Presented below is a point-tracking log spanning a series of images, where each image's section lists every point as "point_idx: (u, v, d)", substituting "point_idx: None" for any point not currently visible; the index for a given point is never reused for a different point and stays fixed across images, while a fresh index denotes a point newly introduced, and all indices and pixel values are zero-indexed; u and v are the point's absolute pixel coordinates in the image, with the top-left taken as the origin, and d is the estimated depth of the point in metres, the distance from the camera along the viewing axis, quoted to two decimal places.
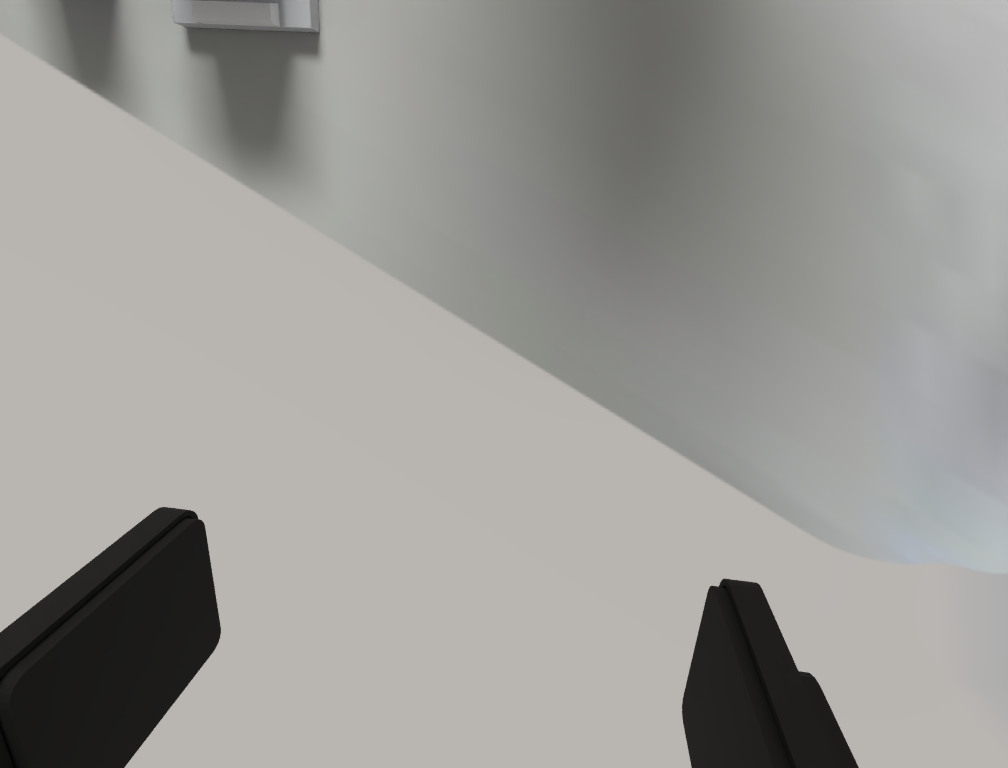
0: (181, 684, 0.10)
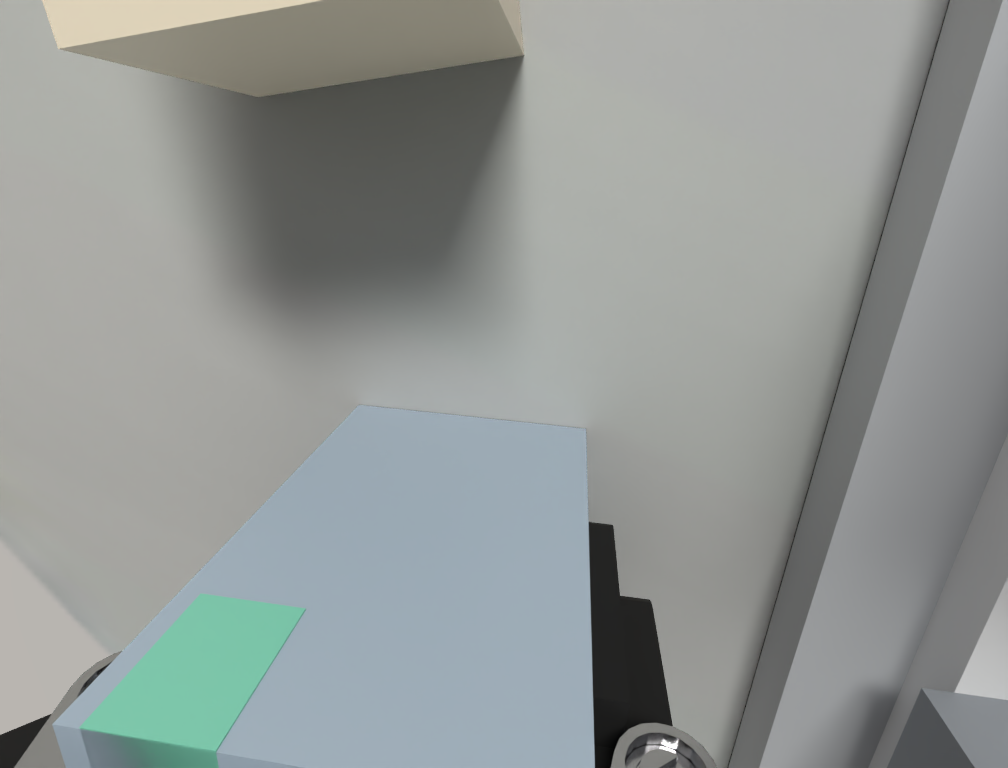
0: None
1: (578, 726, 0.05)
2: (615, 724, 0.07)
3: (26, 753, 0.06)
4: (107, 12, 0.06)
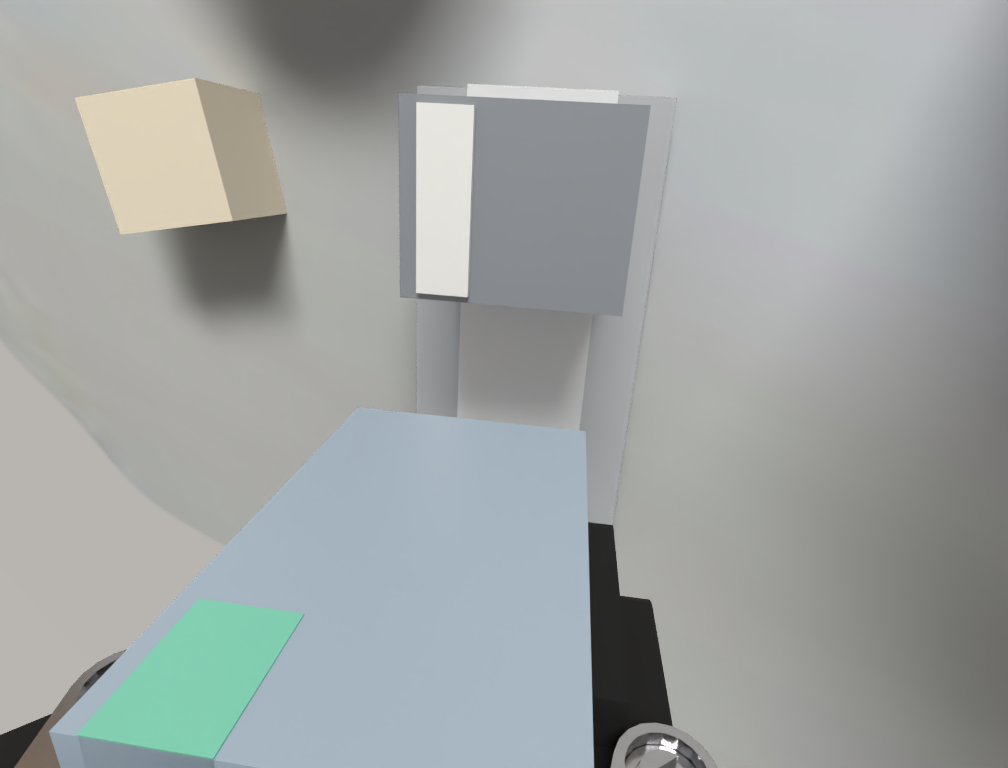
0: None
1: (577, 733, 0.05)
2: (615, 724, 0.07)
3: (26, 753, 0.06)
4: (134, 226, 0.20)
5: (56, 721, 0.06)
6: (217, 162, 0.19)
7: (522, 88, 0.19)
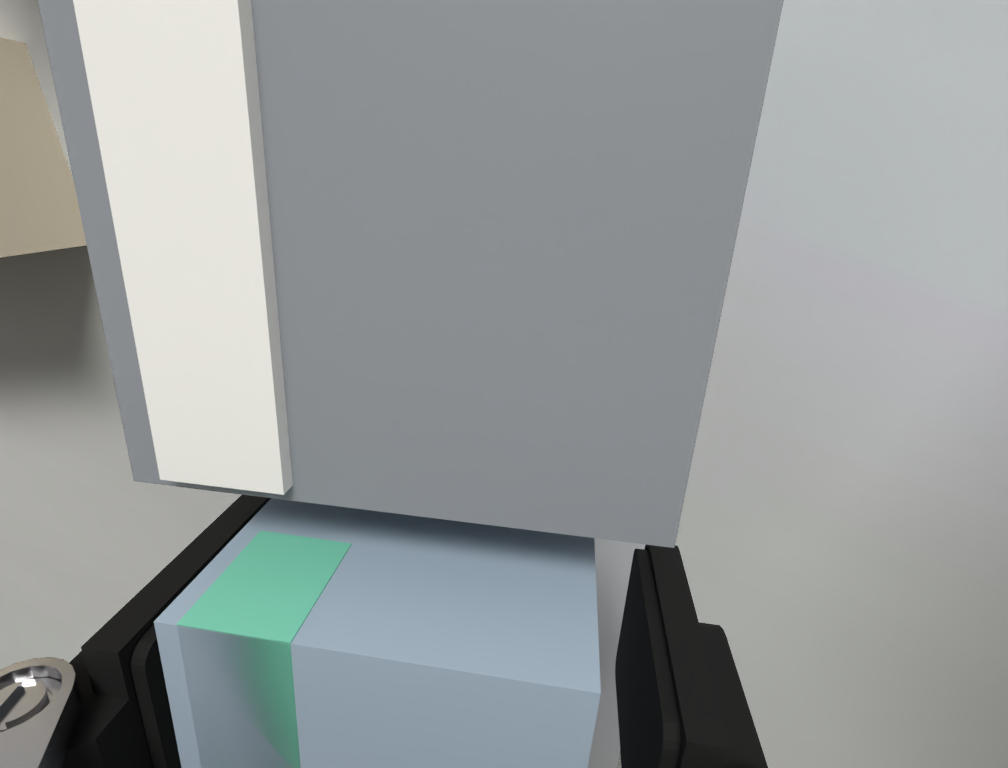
0: None
1: (585, 632, 0.06)
2: None
3: None
4: None
5: None
6: None
7: None
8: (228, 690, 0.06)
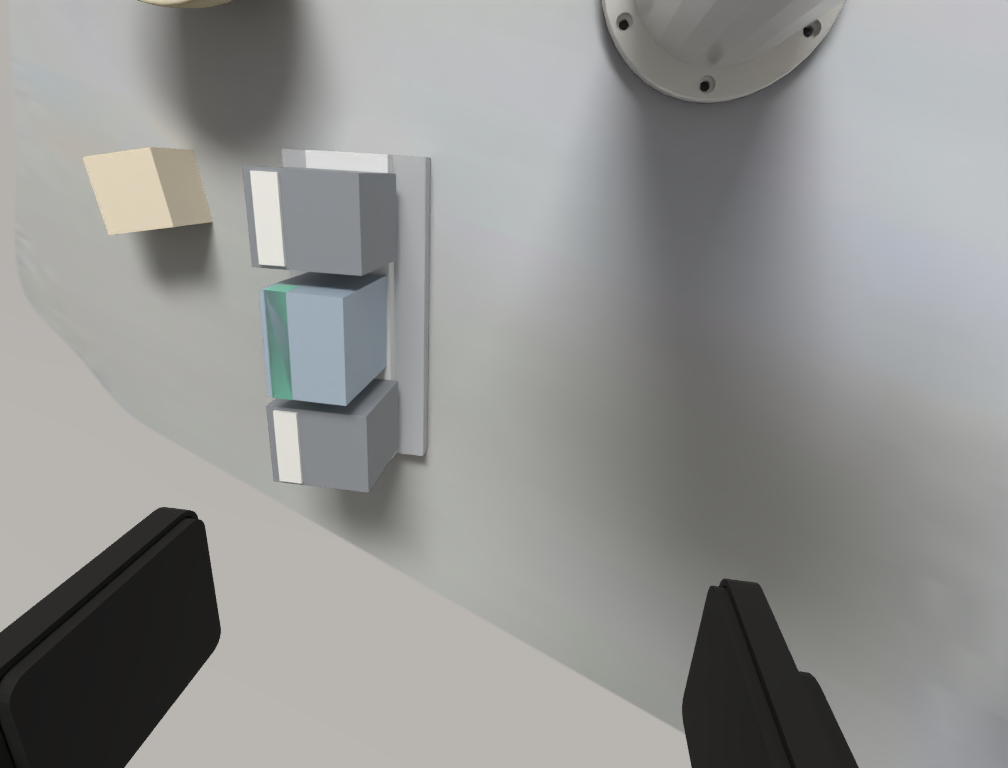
0: (182, 683, 0.10)
1: (345, 294, 0.29)
2: None
3: None
4: (116, 230, 0.35)
5: None
6: (164, 193, 0.33)
7: (335, 152, 0.33)
8: (273, 305, 0.29)
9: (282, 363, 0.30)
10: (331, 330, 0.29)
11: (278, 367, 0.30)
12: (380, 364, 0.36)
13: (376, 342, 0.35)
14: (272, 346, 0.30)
